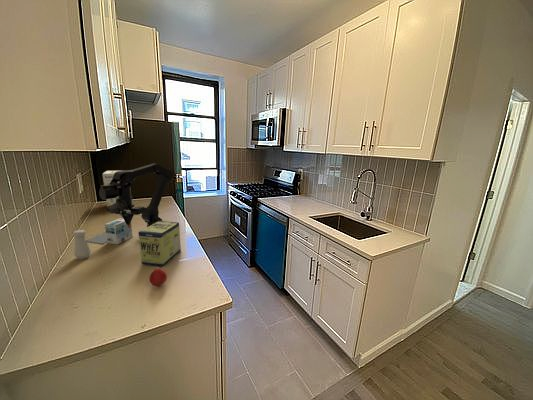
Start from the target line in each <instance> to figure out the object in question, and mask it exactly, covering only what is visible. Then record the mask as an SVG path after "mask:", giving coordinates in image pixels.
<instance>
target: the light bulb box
mask: <svg viewBox="0 0 533 400" xmlns="http://www.w3.org/2000/svg"><path fill="white" fill-rule="evenodd" d="M104 229H105V232H106V236H107V243H106V244H112V245H113V244H114V245H119V244H122V243H123V242H125V241H127V240H130V239H131V238H133V227H132V222H131V223H130V225H127V224H126V222H125V220H124V219H123V217H120V218H117V219H115V220H112V221H109V222H107V223H105V224H104Z"/></svg>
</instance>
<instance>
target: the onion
mask: <svg viewBox="0 0 533 400" xmlns="http://www.w3.org/2000/svg"><path fill="white" fill-rule="evenodd" d="M167 277H168V275H167V273H166V271H165V270H163V269H162V268H160V267H159V266H156V268H155V269H153V271H151V273H150V274H149V283H150V284H151V285H152V286H153V287H157V288H158V287H159V288H160V287H161V286H162V285H163V284H165V283H166V281H167Z"/></svg>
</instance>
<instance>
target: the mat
mask: <svg viewBox="0 0 533 400" xmlns="http://www.w3.org/2000/svg"><path fill="white" fill-rule="evenodd" d="M86 242H87V243H93V244H99V245H104V244H108V243H107V236H106V231H105V232H103V233H100V234H97V235H95V236H93V237H90V238H87V239H86Z"/></svg>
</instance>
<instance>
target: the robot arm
mask: <svg viewBox="0 0 533 400" xmlns="http://www.w3.org/2000/svg"><path fill="white" fill-rule="evenodd" d="M116 171H117V172H115V174H114V177H113V179H112V180H111V182H110V184H109V185H104V184H102V185H100V188H99V190H98V196H99V198H100V199H101V200H102V201H105V200H106V199H112V198H117V197H118V198H117V200H116V203H114V204H112V205H110V206H108V207H107V206H106V207H107V209H106V210H107V212H108V213H109V212H110V214H111V215H112V214H114V215H119V216H121V218H123V219H124V220H125V222H126V224H127V225H130V223H131V224H132V219H133V218H134V216H139V215H141V218H142V220H143V221H144V222H145V224H146V228H147V227H149V226H151V225H153V224H154V223H156V222H158V221H163V219H162V218H161V217H159V215H160V214H159V213H160V211H159V208H160V207H159V206H160V204H161V201H162V198H163V196H164V193H165V190H166V187H167V185H168V184H169V183H170V182H171V181H172V179H173V177H174V173H173V171H172V170H171V169H167V168H165V167H163V166H161V165H159V164H157V163H150V164H147V165H144V166H140V167H137V168H134V169H128V170H122V171H121V170H116ZM151 173H154V174H155V175H157V177H156V179H157V184H156V186H155V189H154V192H153V194H152V197H151V199H150V201H149V204H148V205H147V206H145V207H144V206H139V205H138V206H136V207H135V204H133V200H134V199H135V198H134V197H133V196H132V189H131V187H135V186H136V185H135V184H133V183H132V181H135V179H136V178H139V177H141V176H142V177H143V176H145V175H147V174H151ZM117 182H120V183H117Z"/></svg>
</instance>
